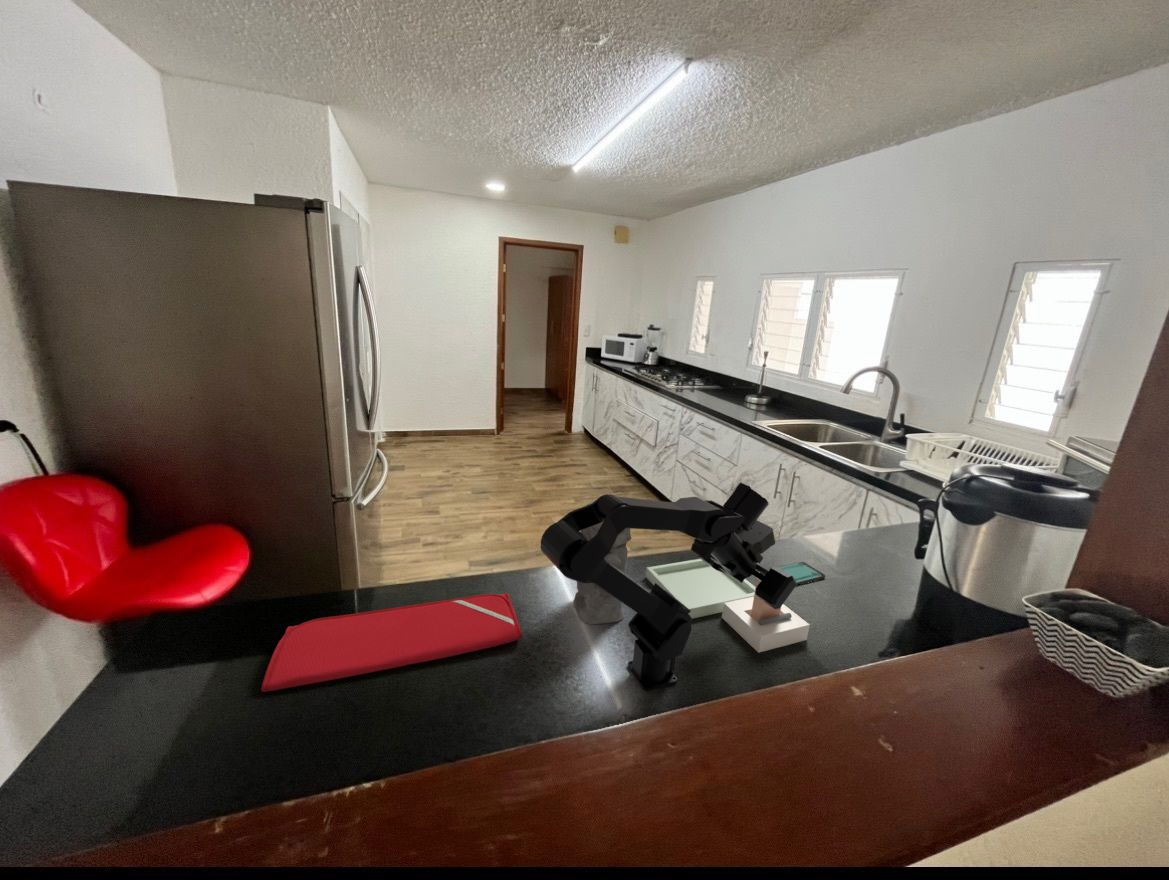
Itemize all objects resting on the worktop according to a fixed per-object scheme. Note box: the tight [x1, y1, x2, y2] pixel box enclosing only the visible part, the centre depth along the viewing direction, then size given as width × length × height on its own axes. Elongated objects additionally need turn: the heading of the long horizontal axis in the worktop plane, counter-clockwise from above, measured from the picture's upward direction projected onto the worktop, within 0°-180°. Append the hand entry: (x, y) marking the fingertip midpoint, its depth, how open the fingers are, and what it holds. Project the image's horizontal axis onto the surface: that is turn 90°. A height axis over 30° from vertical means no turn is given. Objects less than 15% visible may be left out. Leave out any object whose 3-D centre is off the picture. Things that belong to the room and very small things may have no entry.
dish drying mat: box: [260, 592, 523, 693], centre depth 85 cm, size 16×41×4 cm, turn 109°
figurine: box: [572, 499, 632, 625], centre depth 94 cm, size 10×14×25 cm
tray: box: [645, 558, 756, 620], centre depth 106 cm, size 20×17×2 cm
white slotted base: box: [721, 597, 811, 653], centre depth 93 cm, size 12×11×4 cm
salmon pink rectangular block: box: [751, 579, 781, 623], centre depth 92 cm, size 5×2×11 cm, turn 111°
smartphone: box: [761, 561, 826, 586], centre depth 114 cm, size 7×1×15 cm
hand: (760, 587), depth 90 cm, fingers open, 9 cm apart
